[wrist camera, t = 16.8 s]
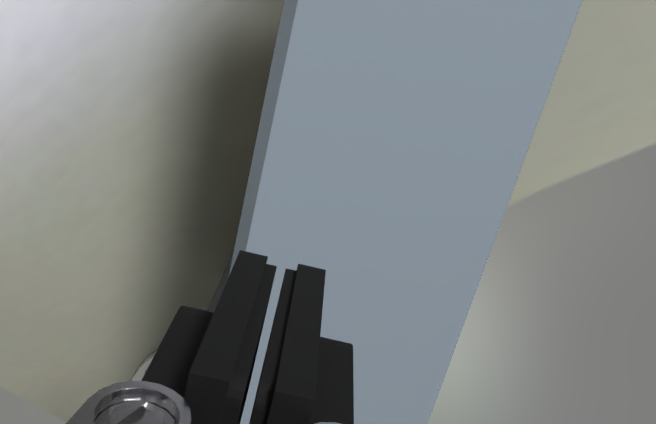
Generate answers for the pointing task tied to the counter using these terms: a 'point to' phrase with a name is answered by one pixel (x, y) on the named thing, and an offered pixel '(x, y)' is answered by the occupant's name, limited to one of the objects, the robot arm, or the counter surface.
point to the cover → (395, 172)
